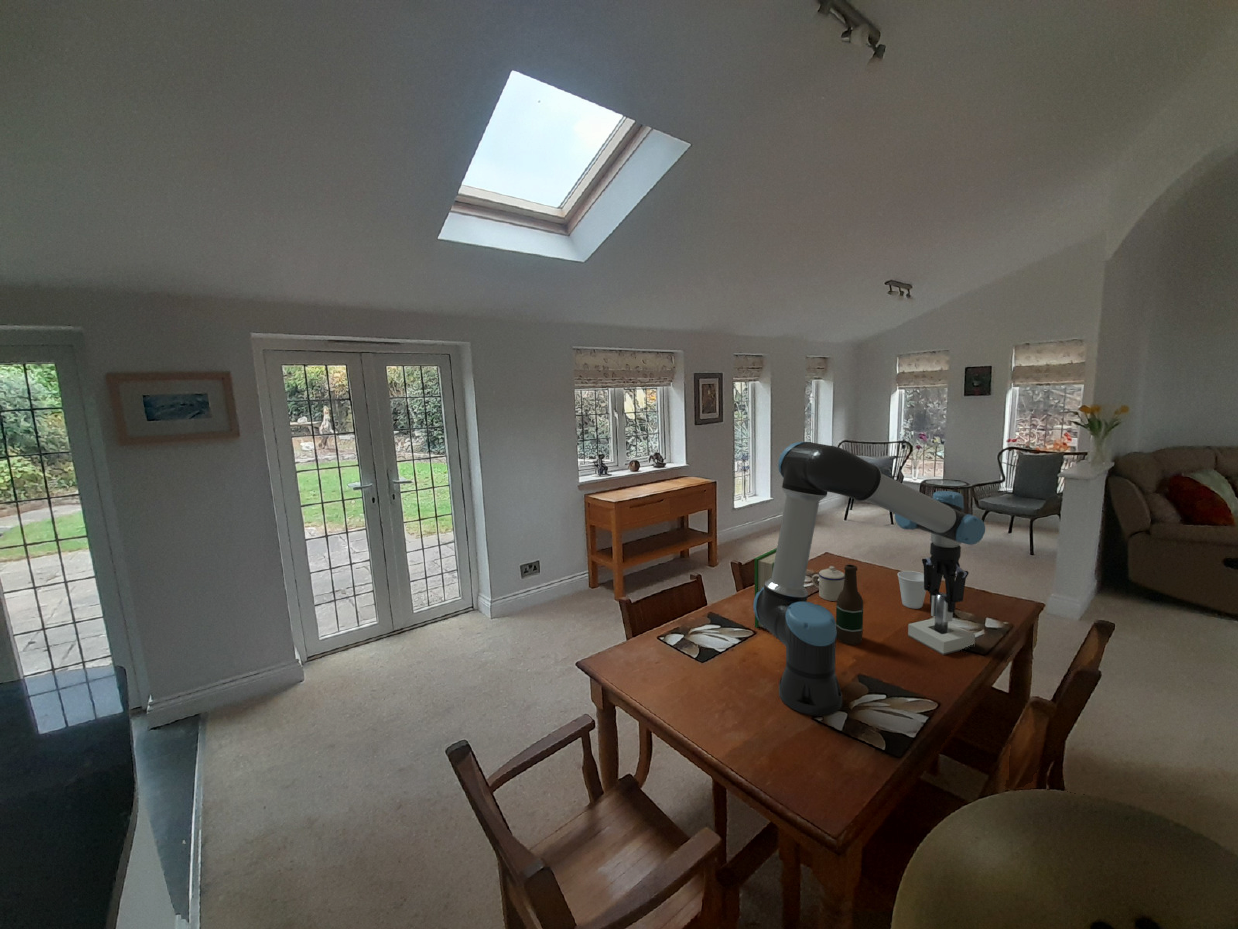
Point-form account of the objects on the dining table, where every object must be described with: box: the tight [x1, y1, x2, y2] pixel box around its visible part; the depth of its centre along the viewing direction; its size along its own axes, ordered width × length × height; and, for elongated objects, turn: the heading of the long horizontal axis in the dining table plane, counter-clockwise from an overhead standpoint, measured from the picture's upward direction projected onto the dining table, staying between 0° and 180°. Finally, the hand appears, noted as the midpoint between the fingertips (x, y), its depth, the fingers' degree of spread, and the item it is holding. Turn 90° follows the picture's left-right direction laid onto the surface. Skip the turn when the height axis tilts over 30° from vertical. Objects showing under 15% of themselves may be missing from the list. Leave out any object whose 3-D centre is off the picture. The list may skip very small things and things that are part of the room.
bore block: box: [907, 617, 976, 656], centre depth 149 cm, size 12×12×4 cm
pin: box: [934, 591, 948, 634], centre depth 148 cm, size 3×3×12 cm
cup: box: [897, 570, 927, 610], centre depth 173 cm, size 10×10×11 cm
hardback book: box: [753, 547, 777, 629], centre depth 165 cm, size 18×7×24 cm, turn 133°
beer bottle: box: [835, 563, 864, 646], centre depth 152 cm, size 8×8×24 cm
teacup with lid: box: [811, 565, 845, 602], centre depth 184 cm, size 12×9×12 cm
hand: (941, 618), depth 149 cm, fingers closed on pin, 3 cm apart
